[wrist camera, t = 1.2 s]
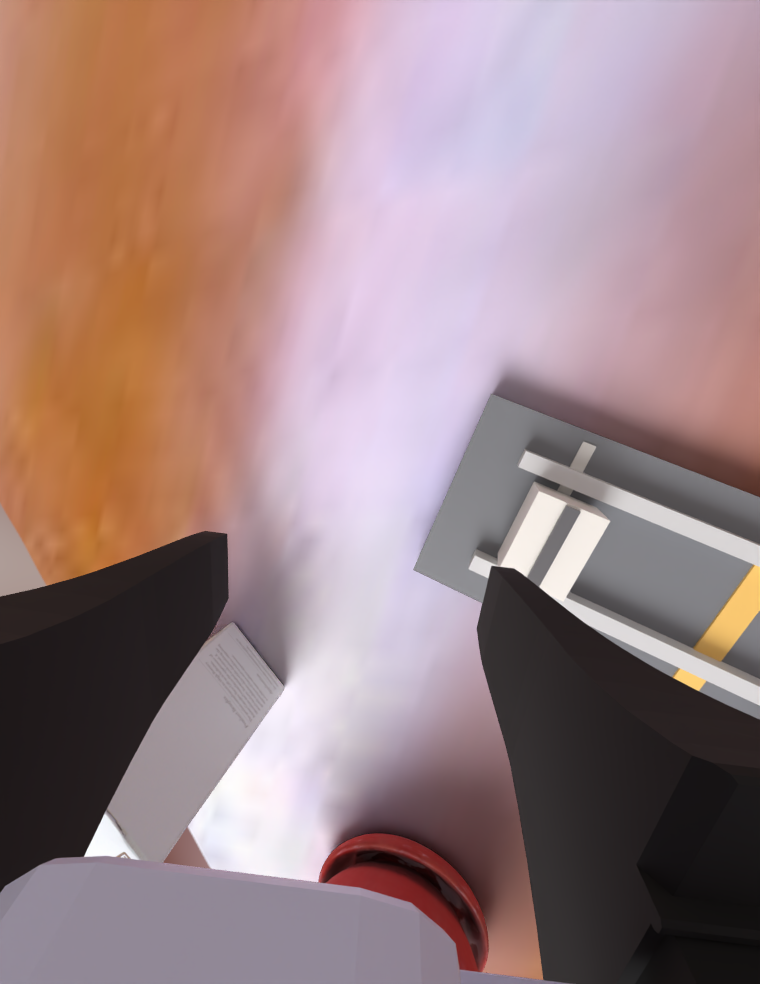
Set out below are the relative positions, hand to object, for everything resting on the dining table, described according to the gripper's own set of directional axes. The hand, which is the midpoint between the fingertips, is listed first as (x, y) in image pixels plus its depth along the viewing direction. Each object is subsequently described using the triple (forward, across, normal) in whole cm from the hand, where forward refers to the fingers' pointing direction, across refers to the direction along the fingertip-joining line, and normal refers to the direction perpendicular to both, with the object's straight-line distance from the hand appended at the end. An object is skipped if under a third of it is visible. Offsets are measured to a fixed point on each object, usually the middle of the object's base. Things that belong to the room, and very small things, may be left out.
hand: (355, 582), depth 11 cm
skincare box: (+13, +8, +16) cm, 22 cm away
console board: (+9, -13, +2) cm, 16 cm away
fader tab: (+9, -8, +1) cm, 12 cm away
